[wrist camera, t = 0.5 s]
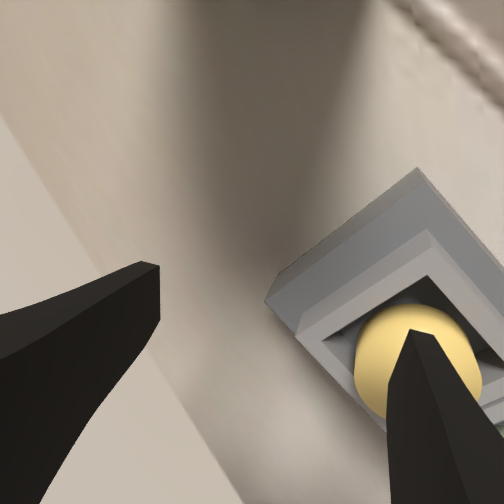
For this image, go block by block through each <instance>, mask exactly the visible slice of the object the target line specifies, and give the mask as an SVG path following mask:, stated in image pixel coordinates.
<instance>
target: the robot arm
mask: <svg viewBox="0 0 504 504" xmlns="http://www.w3.org/2000/svg"><path fill="white" fill-rule="evenodd" d="M159 321H160V266H159V265H155V264H151V263H147V262H143V261H140V262H137V263H134V264H132V265H129V266H127V267H124V268H122V269H120V270H117V271H115V272H113V273H110V274H108V275H106V276H104V277H101V278H99V279H97V280H94V281H92V282H90V283H87V284H85V285H83V286H80V287H78V288H75V289H73V290H70V291H68V292H65V293H63V294H60V295H57V296H55V297H52V298H50V299H47V300H44V301H42V302H39V303H36V304H33V305H31V306H27V307H24V308H21V309H18V310H15V311H12V312H8V313H5V314H1V315H0V504H39V503H40V502H41V500H42V498H43V496H44V494H45V493H46V491H47V489H48V487H49V485H50V484H51V482H52V480H53V479H54V477H55V475H56V474H57V472H58V470H59V469H60V467H61V465H62V463H63V462H64V460H65V458H66V457H67V455H68V453H69V452H70V450H71V448H72V447H73V445H74V444H75V442H76V440H77V439H78V437H79V436H80V434H81V432H82V431H83V429H84V427H85V426H86V424H87V423H88V421H89V420H90V418H91V417H92V416H93V414H94V413H95V411H96V410H97V408H98V407H99V406H100V404H101V403H102V402H103V401H104V399H105V398H106V397H107V395H108V394H109V393H110V392H111V390H112V389H113V388H114V386H115V385H116V383H117V382H118V381H119V380H120V379H121V377H122V376H123V375H124V373H125V372H126V371H127V370H128V368H129V367H130V366H131V364H132V363H133V362H134V360H135V359H136V358H137V356H138V355H139V354H140V353H141V351H142V350H143V348H144V347H145V346H146V344H147V342H148V340H149V339H150V337H151V335H152V334H153V332H154V330H155V328H156V326H157V325H158V323H159ZM386 430H387V447H388V462H389V477H390V492H391V504H504V438H503V436H502V435H501V434H500V432H499V431H498V430H497V429H496V427H495V426H494V425H493V423H492V422H491V421H490V419H489V418H488V417H487V415H486V414H485V412H484V411H483V410H482V408H481V407H480V405H479V404H478V403H477V401H476V400H475V398H474V397H473V395H472V394H471V392H470V391H469V389H468V388H467V387H466V385H465V383H464V382H463V380H462V379H461V377H460V376H459V374H458V373H457V371H456V369H455V368H454V366H453V365H452V363H451V361H450V360H449V358H448V357H447V355H446V353H445V352H444V350H443V349H442V347H441V345H440V344H439V342H438V341H437V339H436V337H435V336H434V335H433V334H429V333H425V332H421V331H417V330H413V329H409V331H408V334H407V336H406V339H405V341H404V344H403V347H402V349H401V352H400V354H399V357H398V359H397V362H396V364H395V367H394V369H393V372H392V374H391V377H390V380H389V382H388V392H387V407H386Z"/></svg>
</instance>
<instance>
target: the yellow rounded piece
mask: <svg viewBox="0 0 504 504" xmlns="http://www.w3.org/2000/svg"><path fill="white" fill-rule="evenodd" d="M409 329H413V330H417V331H421V332H425V333H429V334H433V335H434V336H435V337H436V339H437V341H438V342H439V344H440V345H441V347H442V349H443V350H444V352H445V353H446V355H447V357H448V358H449V360H450V361H451V363H452V365H453V366H454V368H455V369H456V371H457V373H458V374H459V376H460V377H461V379H462V380H463V382H464V383H465V385H466V387H467V388H468V389H469V391H470V392H471V394H472V395H473V397H474V398H475V400H476V401H478V400H479V397H480V395H481V390H482V377H481V373H480V370H479V367H478V364H477V362H476V359H475V356H474V353H473V351H472V348H471V345H470V343H469V340H468V337H467V335H466V333H465V331H464V329H463V328H462V327H461V325H460V324H459V323H458V322H457V321H456V320H455V319H454V318H452V317H451V316H450V315H448V314H447V313H445V312H443V311H441V310H439V309H437V308H434V307H431V306H427V305H422V304H413V303H410V304H398V305H394V306H390V307H387V308H384V309H382V310H380V311H378V312H376V313H375V314H374V315H372V316H371V317H370V318H369V319H368V320H367V321H366V322H365V323H364V324H363V326H362V327H361V329H360V331H359V334H358V337H357V342H356V356H355V370H354V380H355V385H356V389H357V391H358V393H359V395H360V397H361V399H362V400H363V401H364V403H365V404H366V405H367V406H368V407H369V408H370V409H371V410H372V411H373V412H375V413H376V414H377V415H379V416H381V417H382V418H384V419H386V407H387V392H388V382H389V380H390V377H391V374H392V372H393V369H394V367H395V364H396V362H397V359H398V357H399V354H400V352H401V349H402V347H403V344H404V341H405V339H406V336H407V334H408V331H409Z"/></svg>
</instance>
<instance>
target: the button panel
mask: <svg viewBox="0 0 504 504" xmlns="http://www.w3.org/2000/svg"><path fill="white" fill-rule="evenodd" d="M264 302H265V303H266V304H267V306H268V307H269V308H270V309H271V310H272V311H273V312H274V313H275V314H276V315H277V316H278V317H279V318H280V319H281V320H282V321H283V322H284V323H285V325H286V326H287V327H288V328H289V329H290V330H291V331H292V332H293V333H294V334H295V338H296V339H297V340H298V341H299V342H300V343H301V344H302V345H303V346H304V347H305V348H306V349H307V350H308V351H309V352H310V353H311V355H312V356H313V357H314V358H315V359H316V360H317V361H318V362H319V363H320V364H321V365H322V366H323V367H324V368H325V369H326V370H327V371H328V373H329V374H330V375H331V376H332V377H333V378H334V379H335V380H336V381H337V382H338V383H339V384H340V385H341V386H342V387H343V388H344V389H345V390H346V392H347V393H348V394H349V395H350V396H351V397H352V398H353V399H354V400H355V401H356V402H357V403H358V404H359V405H360V406H361V407H362V408H363V409H364V411H365V412H366V413H367V414H368V415H369V416H370V417H371V418H372V419H373V420H374V421H375V422H376V423H377V424H378V425H379V426H380V427H381V428H382V430H383V431H384V432H385V433H386V434H387V430H386V419H384V418H382V417H381V416H379V415H377V414H376V413H375V412H373V411H372V410H371V409H370V408H369V407H368V406H367V405H366V404H365V403H364V401H363V400H362V399H361V397H360V395H359V393H358V391H357V389H356V385H355V380H354V370H355V356H356V342H357V337H358V334H359V331H360V329H361V327H362V326H363V324H364V323H365V322H366V321H367V320H368V319H369V318H370V317H371V316H372V315H374V314H375V313H376V312H378V311H380V310H382V309H384V308H387V307H390V306H394V305H398V304H410V303H413V304H422V305H427V306H431V307H434V308H437V309H439V310H441V311H443V312H445V313H447V314H448V315H450V316H451V317H452V318H454V319H455V320H456V321H457V322H458V323H459V324H460V325H461V327H462V328H463V329H464V331H465V333H466V335H467V337H468V340H469V343H470V345H471V348H472V351H473V353H474V356H475V359H476V362H477V364H478V367H479V370H480V373H481V377H482V390H481V395H480V397H479V400H478V401H477V403H478V404H479V405H480V407H481V408H482V410H483V411H484V412H485V414H486V415H487V417H488V418H489V419H490V421H491V422H492V423H493V425H494V426H496V425H503V424H504V267H503V266H502V265H501V264H500V263H499V262H498V260H497V259H496V258H495V257H494V256H493V255H492V253H491V252H490V251H489V250H488V249H487V248H486V246H485V245H484V244H483V243H482V242H481V241H480V239H479V238H478V237H477V236H476V235H475V234H474V232H473V231H472V230H471V229H470V228H469V227H468V225H467V224H466V223H465V222H464V221H463V219H462V218H461V217H460V216H459V215H458V214H457V212H456V211H455V210H454V209H453V208H452V207H451V205H450V204H449V203H448V202H447V201H446V200H445V198H444V197H443V196H442V195H441V194H440V193H439V191H438V190H437V189H436V188H435V187H434V186H433V184H432V183H431V182H430V181H429V180H428V179H427V177H426V176H425V175H424V174H423V173H422V172H421V170H420V169H419V168H418V167H417V168H416V169H414V170H413V171H412V172H410V173H409V174H408V175H407V176H405V177H404V178H403V179H401V180H400V181H399V182H397V183H396V184H395V185H394V186H392V187H391V188H390V189H388V190H387V191H386V192H385V193H383V194H382V195H381V196H379V197H378V198H377V199H376V200H374V201H373V202H372V203H370V204H369V205H368V206H366V207H365V208H364V209H363V210H361V211H360V212H359V213H357V214H356V215H355V216H354V217H352V218H351V219H350V220H348V221H347V222H346V223H345V224H343V225H342V226H341V227H339V228H338V229H337V230H335V231H334V232H333V233H332V234H330V235H329V236H328V237H326V238H325V239H324V240H323V241H321V242H320V243H319V244H317V245H316V246H315V247H314V248H312V249H311V250H310V251H308V252H307V253H306V254H304V255H303V256H302V257H301V258H299V259H298V260H297V261H295V262H294V263H293V264H292V265H290V266H289V267H288V268H286V269H285V270H284V271H283V272H281V273H280V274H279V275H277V277H276V279H275V281H274V283H273V285H272V287H271V289H270V291H269V293H268V295H267V297H266V299H265V300H264Z"/></svg>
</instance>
